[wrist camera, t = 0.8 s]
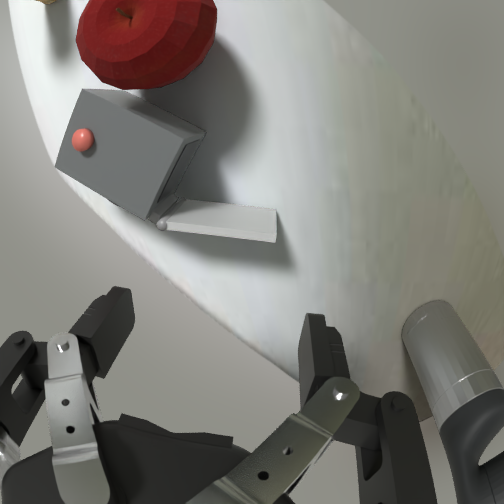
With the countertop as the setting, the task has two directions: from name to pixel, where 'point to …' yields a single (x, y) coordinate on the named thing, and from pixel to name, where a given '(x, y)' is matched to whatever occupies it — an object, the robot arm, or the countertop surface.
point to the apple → (145, 40)
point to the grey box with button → (128, 151)
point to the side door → (221, 220)
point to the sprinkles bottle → (46, 1)
